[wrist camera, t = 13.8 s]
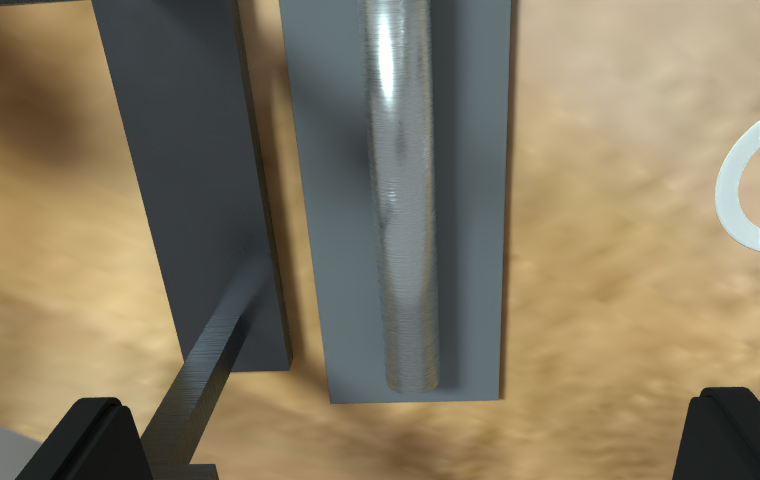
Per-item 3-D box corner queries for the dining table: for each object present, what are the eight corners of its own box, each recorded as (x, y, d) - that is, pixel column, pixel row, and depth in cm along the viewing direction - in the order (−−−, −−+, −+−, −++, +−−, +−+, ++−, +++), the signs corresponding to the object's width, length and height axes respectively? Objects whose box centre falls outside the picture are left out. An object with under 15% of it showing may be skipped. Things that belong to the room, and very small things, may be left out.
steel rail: (350, -134, 22) (341, -150, 19) (426, -141, 22) (427, -158, 19) (386, 360, 32) (383, 395, 29) (438, 359, 32) (441, 394, 29)
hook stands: (218, -120, 23) (-103, -295, 8) (293, 357, 33) (204, 652, 18) (78, -108, 23) (-458, -256, 9) (194, 360, 33) (30, 650, 19)
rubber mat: (515, -240, 21) (518, -245, 20) (496, 393, 33) (498, 400, 33) (254, -215, 22) (250, -220, 21) (331, 397, 34) (330, 403, 34)
